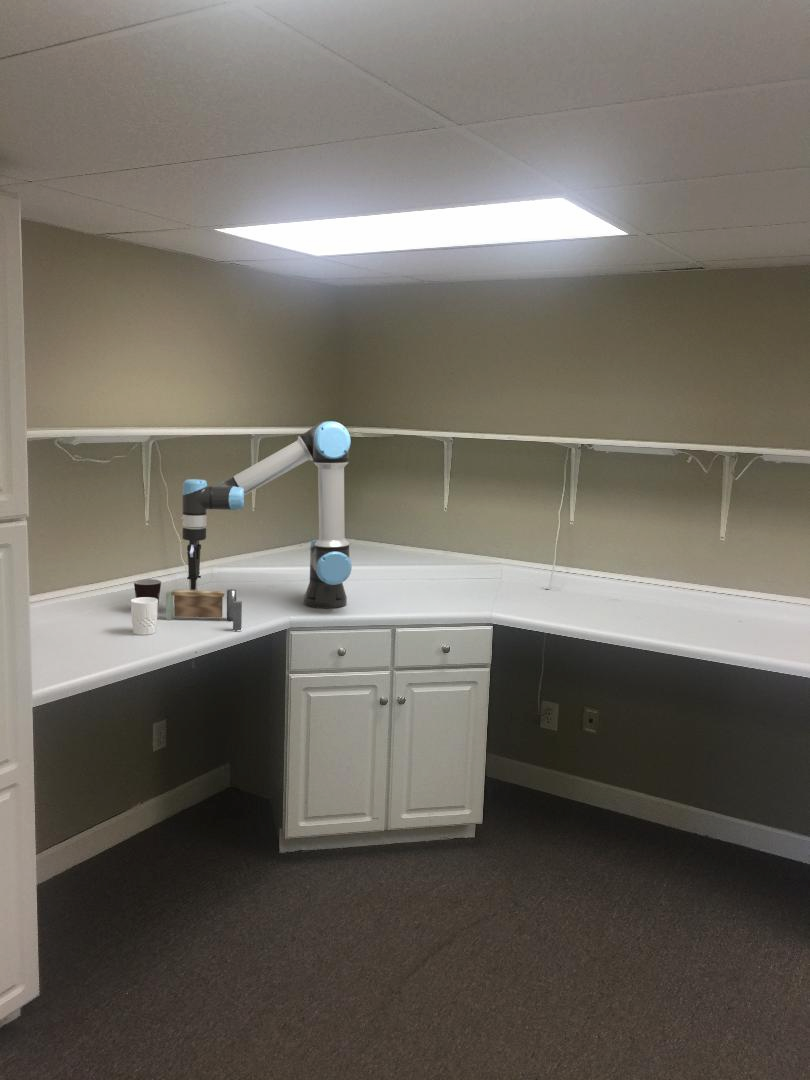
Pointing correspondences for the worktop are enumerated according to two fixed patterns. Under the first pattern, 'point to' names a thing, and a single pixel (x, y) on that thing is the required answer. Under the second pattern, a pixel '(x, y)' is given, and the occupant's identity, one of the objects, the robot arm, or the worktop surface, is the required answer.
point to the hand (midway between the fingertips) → (193, 598)
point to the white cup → (144, 615)
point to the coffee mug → (147, 588)
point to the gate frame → (232, 608)
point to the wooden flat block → (198, 603)
